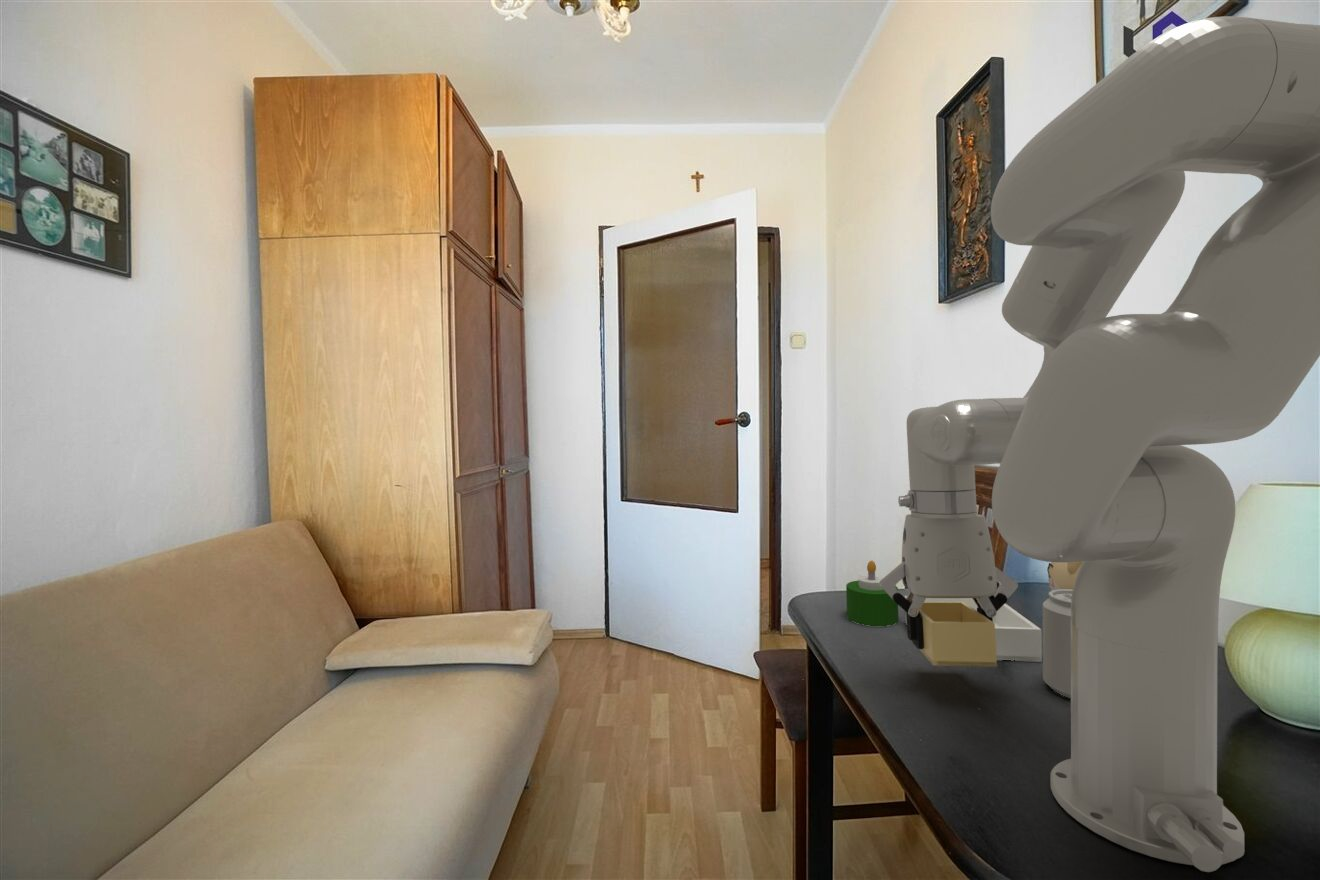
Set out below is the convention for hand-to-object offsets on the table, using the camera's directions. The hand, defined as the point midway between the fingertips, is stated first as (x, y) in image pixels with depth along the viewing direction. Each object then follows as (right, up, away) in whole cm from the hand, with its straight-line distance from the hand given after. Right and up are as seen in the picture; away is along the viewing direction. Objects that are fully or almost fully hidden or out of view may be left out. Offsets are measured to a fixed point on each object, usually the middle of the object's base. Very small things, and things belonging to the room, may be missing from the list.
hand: (950, 645), depth 73 cm
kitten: (+32, -4, +19) cm, 37 cm away
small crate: (0, -1, 0) cm, 1 cm away
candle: (0, -5, +26) cm, 26 cm away
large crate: (+10, -5, +15) cm, 19 cm away
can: (+15, -5, -2) cm, 16 cm away
